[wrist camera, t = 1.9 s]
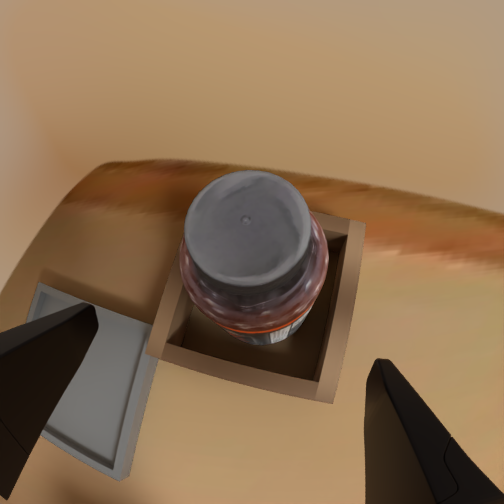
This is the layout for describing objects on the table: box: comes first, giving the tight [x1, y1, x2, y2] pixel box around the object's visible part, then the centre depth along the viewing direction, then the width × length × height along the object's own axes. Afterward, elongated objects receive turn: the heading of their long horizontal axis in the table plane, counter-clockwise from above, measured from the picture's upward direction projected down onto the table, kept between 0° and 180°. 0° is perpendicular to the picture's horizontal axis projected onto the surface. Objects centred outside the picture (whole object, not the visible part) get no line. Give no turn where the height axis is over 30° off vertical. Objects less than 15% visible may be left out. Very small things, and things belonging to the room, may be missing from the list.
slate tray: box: [26, 282, 158, 482], centre depth 18 cm, size 11×11×2 cm
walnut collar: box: [145, 191, 366, 404], centre depth 19 cm, size 10×10×3 cm
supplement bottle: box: [179, 170, 329, 345], centre depth 15 cm, size 6×6×11 cm
